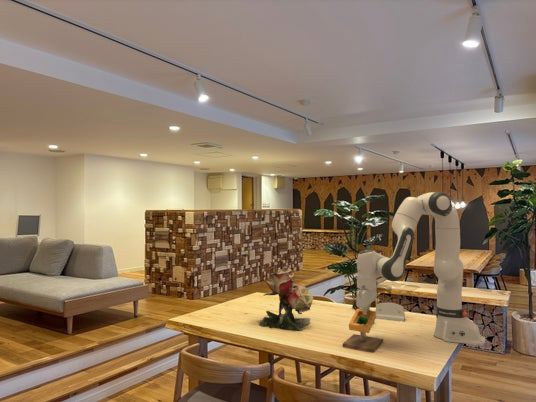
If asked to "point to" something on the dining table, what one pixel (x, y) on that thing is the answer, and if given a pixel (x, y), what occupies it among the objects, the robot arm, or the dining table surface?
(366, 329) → the small wooden tray
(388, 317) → the hinge
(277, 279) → the rose bouquet
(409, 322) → the dining table surface
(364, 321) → the green lumpy block
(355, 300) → the pottery mug
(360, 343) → the keeper board
